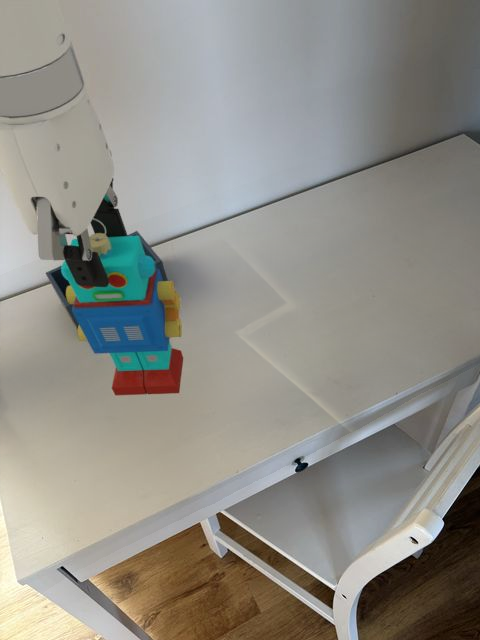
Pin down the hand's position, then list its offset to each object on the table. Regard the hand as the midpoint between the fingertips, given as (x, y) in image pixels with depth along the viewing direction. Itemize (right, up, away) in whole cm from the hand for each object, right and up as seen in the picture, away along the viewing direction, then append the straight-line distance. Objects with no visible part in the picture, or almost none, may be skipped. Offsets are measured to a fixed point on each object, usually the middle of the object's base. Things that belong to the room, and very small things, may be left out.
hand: (103, 260), depth 53 cm
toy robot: (+1, -12, +16) cm, 20 cm away
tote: (-11, +1, +44) cm, 45 cm away
